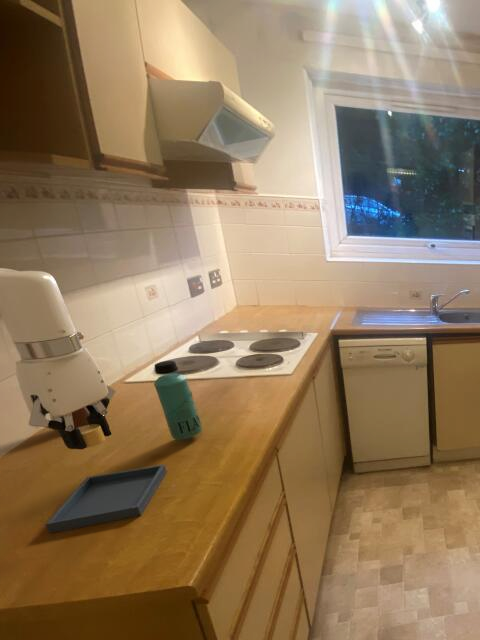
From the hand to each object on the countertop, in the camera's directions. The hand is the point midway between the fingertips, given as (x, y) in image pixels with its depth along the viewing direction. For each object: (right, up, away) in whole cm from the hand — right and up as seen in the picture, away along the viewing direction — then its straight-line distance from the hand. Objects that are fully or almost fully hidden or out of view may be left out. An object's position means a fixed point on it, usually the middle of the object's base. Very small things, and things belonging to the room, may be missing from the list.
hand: (90, 440), depth 80 cm
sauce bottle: (-35, 0, +33) cm, 48 cm away
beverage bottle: (-2, -3, +27) cm, 28 cm away
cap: (0, +2, -1) cm, 2 cm away
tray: (0, -12, +5) cm, 13 cm away
